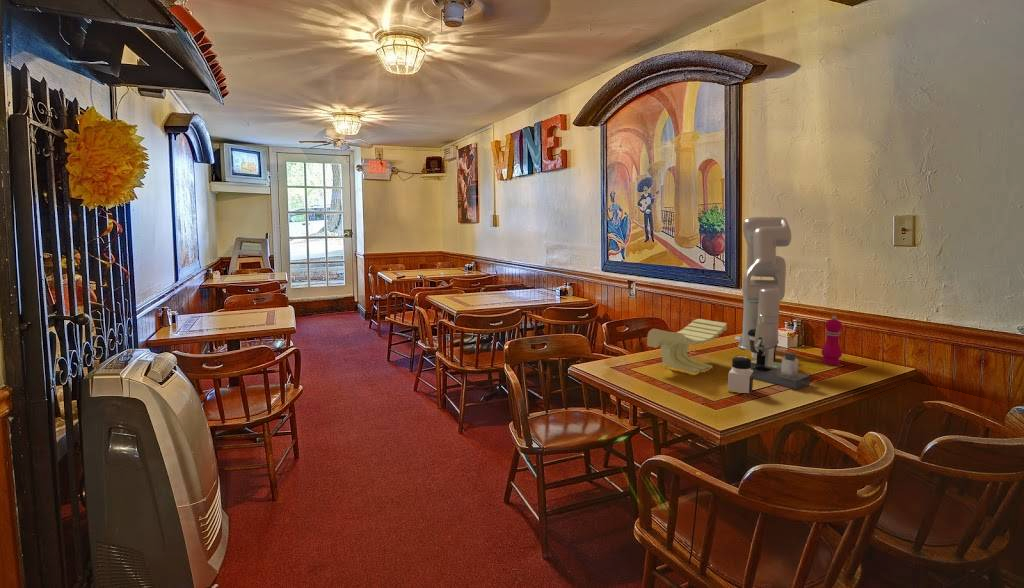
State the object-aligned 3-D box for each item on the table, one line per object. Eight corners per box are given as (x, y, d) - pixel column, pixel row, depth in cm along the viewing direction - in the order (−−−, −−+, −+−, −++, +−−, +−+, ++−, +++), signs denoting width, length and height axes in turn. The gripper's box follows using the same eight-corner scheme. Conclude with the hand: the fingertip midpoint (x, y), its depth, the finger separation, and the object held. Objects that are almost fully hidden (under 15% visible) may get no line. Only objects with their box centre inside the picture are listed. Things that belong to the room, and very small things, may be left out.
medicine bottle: (749, 395, 188) (751, 361, 187) (727, 392, 192) (728, 358, 190) (752, 389, 194) (754, 356, 193) (731, 386, 198) (732, 354, 196)
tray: (744, 367, 221) (744, 363, 221) (759, 363, 227) (759, 358, 227) (771, 374, 212) (771, 369, 212) (786, 368, 219) (786, 364, 218)
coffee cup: (743, 355, 240) (745, 328, 239) (770, 356, 238) (772, 329, 236) (749, 361, 230) (750, 333, 228) (777, 362, 228) (778, 334, 226)
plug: (758, 366, 220) (759, 342, 219) (763, 365, 222) (764, 340, 221) (767, 368, 217) (769, 344, 215) (773, 367, 219) (774, 342, 218)
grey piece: (733, 375, 212) (734, 346, 210) (747, 370, 217) (748, 342, 216) (795, 390, 192) (797, 358, 191) (809, 384, 198) (811, 354, 197)
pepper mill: (835, 361, 228) (839, 314, 225) (844, 366, 221) (848, 317, 218) (817, 361, 229) (820, 314, 226) (825, 365, 222) (829, 317, 219)
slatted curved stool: (691, 358, 237) (692, 317, 234) (725, 365, 224) (726, 323, 222) (646, 371, 219) (647, 327, 216) (680, 380, 206) (681, 334, 204)
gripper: (770, 315, 225) (768, 357, 227) (747, 320, 215) (745, 364, 217) (788, 318, 219) (786, 361, 221) (765, 323, 209) (763, 368, 211)
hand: (765, 362), depth 219 cm, fingers open, 6 cm apart
